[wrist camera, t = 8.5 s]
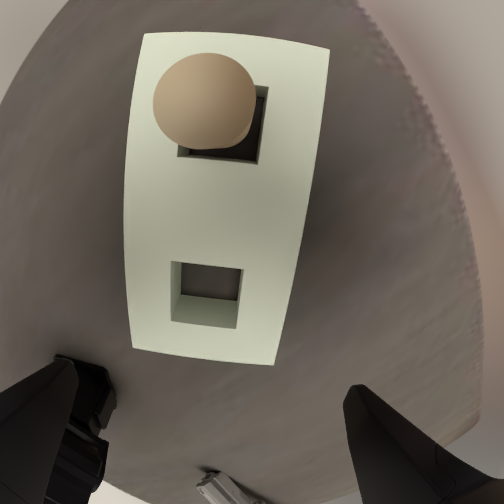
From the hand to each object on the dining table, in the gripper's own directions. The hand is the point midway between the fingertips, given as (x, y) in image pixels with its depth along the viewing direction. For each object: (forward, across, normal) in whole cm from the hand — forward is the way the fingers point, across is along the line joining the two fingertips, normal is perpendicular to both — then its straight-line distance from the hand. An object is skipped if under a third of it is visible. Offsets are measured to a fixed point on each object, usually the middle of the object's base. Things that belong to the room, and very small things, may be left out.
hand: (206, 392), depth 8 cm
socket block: (+12, +1, -3) cm, 13 cm away
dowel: (+12, +1, -8) cm, 15 cm away
